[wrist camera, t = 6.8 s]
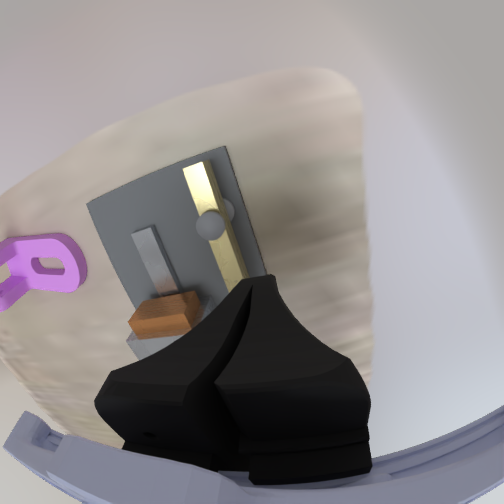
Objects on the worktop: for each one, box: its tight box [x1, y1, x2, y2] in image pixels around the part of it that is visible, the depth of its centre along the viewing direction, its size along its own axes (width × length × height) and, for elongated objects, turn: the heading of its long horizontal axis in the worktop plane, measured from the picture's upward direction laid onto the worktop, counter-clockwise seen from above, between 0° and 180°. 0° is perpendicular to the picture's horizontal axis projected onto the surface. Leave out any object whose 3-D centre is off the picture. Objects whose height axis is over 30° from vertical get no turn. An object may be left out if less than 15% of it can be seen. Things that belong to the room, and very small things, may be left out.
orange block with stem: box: [128, 291, 201, 335], centre depth 20 cm, size 7×5×3 cm
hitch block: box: [126, 225, 217, 360], centre depth 19 cm, size 12×6×5 cm, turn 17°
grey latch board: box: [86, 146, 267, 310], centre depth 19 cm, size 16×12×4 cm
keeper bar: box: [183, 160, 250, 293], centre depth 17 cm, size 9×1×2 cm, turn 17°
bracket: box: [0, 233, 87, 312], centre depth 19 cm, size 13×6×7 cm, turn 93°
